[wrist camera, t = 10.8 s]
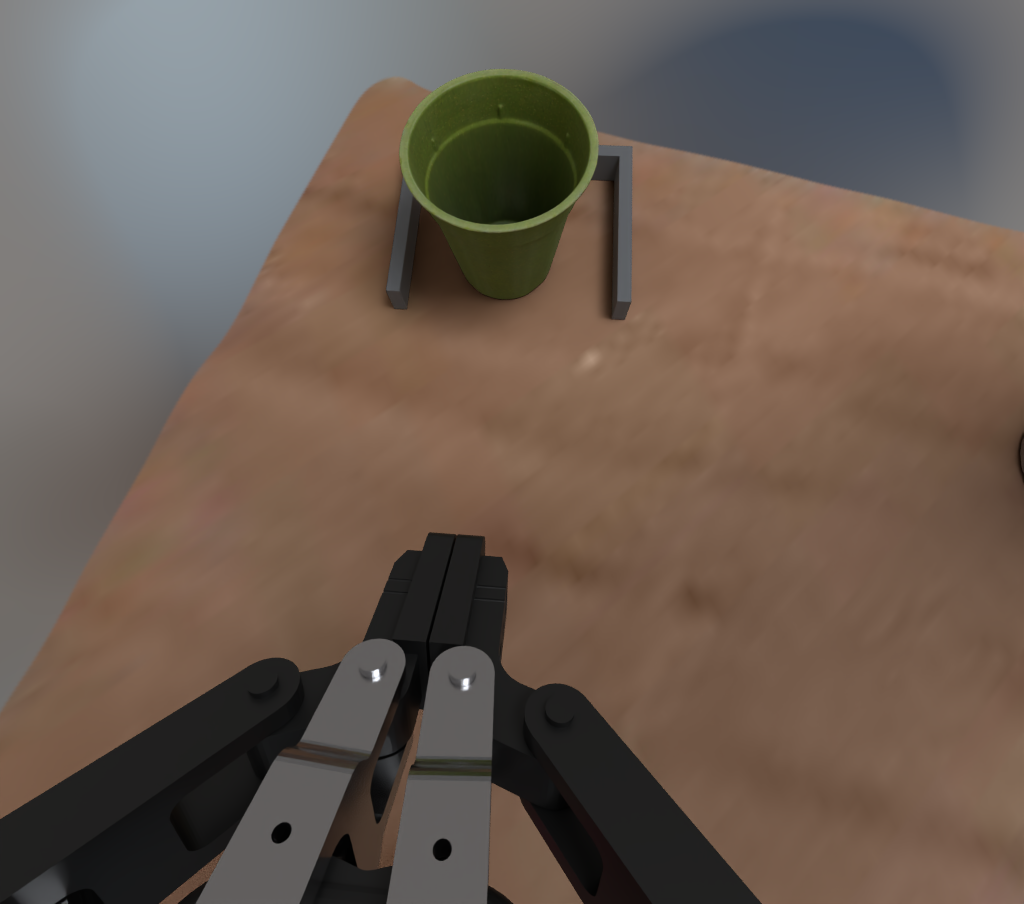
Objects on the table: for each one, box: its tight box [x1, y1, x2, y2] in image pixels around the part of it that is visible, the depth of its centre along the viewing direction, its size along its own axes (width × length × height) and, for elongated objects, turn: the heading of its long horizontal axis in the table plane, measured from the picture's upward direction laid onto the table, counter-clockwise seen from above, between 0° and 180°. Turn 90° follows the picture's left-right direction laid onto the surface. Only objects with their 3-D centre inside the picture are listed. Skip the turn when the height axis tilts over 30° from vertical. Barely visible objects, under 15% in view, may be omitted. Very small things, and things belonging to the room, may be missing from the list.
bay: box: [386, 145, 632, 320], centre depth 40 cm, size 18×14×2 cm
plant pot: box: [399, 69, 599, 299], centre depth 36 cm, size 12×12×11 cm
